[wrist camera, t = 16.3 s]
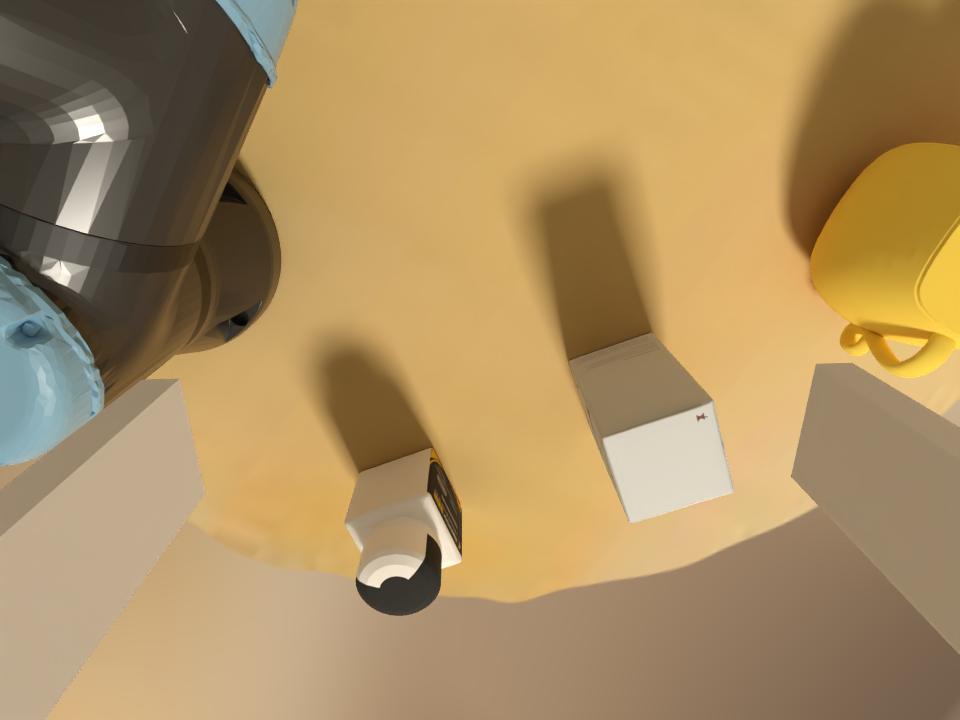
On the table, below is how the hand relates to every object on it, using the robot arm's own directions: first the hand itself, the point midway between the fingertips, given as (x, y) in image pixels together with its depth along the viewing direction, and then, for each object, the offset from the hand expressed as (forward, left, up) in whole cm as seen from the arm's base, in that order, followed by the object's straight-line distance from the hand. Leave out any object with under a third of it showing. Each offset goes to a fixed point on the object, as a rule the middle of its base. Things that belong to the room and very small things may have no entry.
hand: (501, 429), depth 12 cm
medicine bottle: (-6, -24, -33) cm, 41 cm away
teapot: (+32, -1, -33) cm, 46 cm away
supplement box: (+12, -14, -33) cm, 38 cm away
